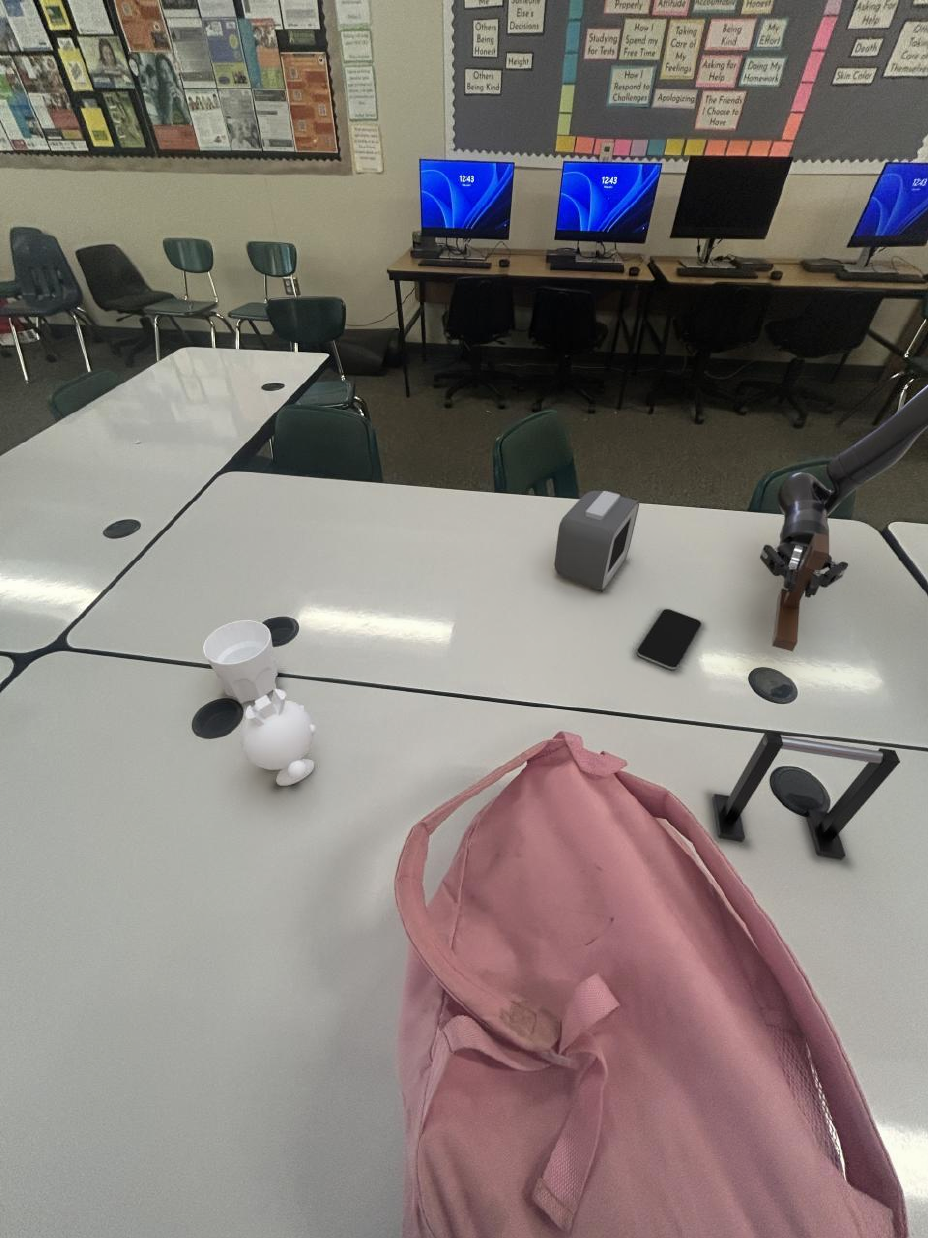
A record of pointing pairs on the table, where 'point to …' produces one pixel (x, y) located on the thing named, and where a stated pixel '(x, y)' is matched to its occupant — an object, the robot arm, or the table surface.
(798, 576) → the hanger
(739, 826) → the rack
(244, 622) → the cup
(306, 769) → the toy robot
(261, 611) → the table surface
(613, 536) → the alarm clock
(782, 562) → the robot arm
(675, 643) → the smartphone
